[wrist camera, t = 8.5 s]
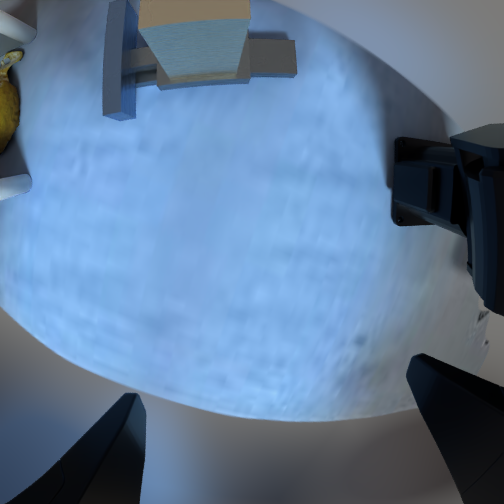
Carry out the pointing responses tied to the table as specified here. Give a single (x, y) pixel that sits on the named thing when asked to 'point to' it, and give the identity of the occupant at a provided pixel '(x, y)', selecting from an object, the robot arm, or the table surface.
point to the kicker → (173, 47)
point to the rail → (252, 61)
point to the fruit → (8, 101)
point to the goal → (3, 41)
